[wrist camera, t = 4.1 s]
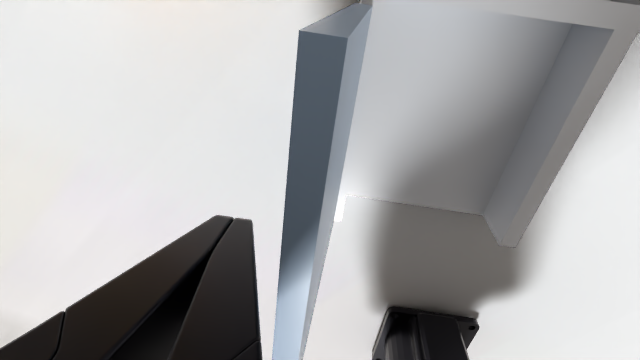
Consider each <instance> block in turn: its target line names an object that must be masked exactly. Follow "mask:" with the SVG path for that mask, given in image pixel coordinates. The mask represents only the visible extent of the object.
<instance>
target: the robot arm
mask: <svg viewBox="0 0 640 360" xmlns="http://www.w3.org/2000/svg"><path fill="white" fill-rule="evenodd" d="M478 330H479V325H478V322H477V320H475V319H472V318H465V317H459V316H452V315H445V314H439V313H432V312H426V311H419V310H413V309H406V308H399V307H391V308H389V309H388V310H387V313H386V316H385V319H384V322H383V325H382V327H381V330H380V333H379V336H378V339H377V342H376V345H375V347H374V350H373V353H372V360H469V357H468V353H467V348H468V346H469V345H470V343H471V341H472V340H473V338H474V336H475V335H476V333H477V331H478ZM0 360H262V347H261V336H260V321H259V307H258V293H257V278H256V264H255V250H254V235H253V222H252V221H251V220H249V219H242V218H235V219H234V218H233V217H229V216H222V215H216V216H214V217H212V218H211V219H209V220H207V221H206V222H204V223H203V224H201V225H199V226H198V227H196V228H194V229H193V230H191V231H190V232H188V233H186V234H185V235H183V236H182V237H180V238H178V239H177V240H175V241H174V242H172V243H170V244H169V245H167V246H166V247H164V248H162V249H161V250H159V251H158V252H156V253H154V254H153V255H151V256H150V257H148V258H146V259H145V260H143V261H141V262H140V263H138V264H137V265H135V266H133V267H132V268H130V269H129V270H127V271H125V272H124V273H122V274H121V275H119V276H117V277H116V278H114V279H113V280H111V281H109V282H108V283H106V284H105V285H103V286H101V287H100V288H98V289H97V290H95V291H93V292H92V293H90V294H88V295H87V296H85V297H84V298H82V299H80V300H79V301H77V302H76V303H74V304H72V305H71V306H69V307H68V308H67V309H66V311H65V312H64V311H61V312H59V313H58V314H56V315H54V316H53V317H51V318H50V319H48V320H46V321H45V322H43V323H42V324H40V325H38V326H37V327H35V328H33V329H32V330H30V331H28V332H27V333H25V334H23V335H22V336H20V337H18V338H17V339H15V340H13V341H12V342H10V343H8V344H7V345H5V346H3V347H2V348H0Z"/></svg>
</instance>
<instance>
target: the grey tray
mask: <svg viewBox="0 0 640 360" xmlns="http://www.w3.org/2000/svg"><path fill="white" fill-rule="evenodd" d="M359 3H360V4H367V5H373V8H372V13H371V19H370V24H369V30H368V35H367V41H366V46H365V52H364V57H363V63H362V68H361V74H360V79H359V85H358V90H357V96H356V101H355V107H354V112H353V118H352V123H351V129H350V134H349V140H348V145H347V151H346V156H345V162H344V167H343V173H342V178H341V184H340V189H339V195H338V200H337V206H336V211H335V217H334V221H339V222H341V221H342V216H343V211H344V206H345V201H346V195H348V196H354V197H361V198H368V199H375V200H381V201H388V202H395V203H401V204H408V205H415V206H422V207H428V208H435V209H442V210H448V211H455V212H462V213H469V214H475V215H482V216H483V217H484V219H485V221H486V223H487V224H488V226H489V228H490V230H491V232H492V233H493V235H494V237H495V239H496V240H497V242H498V244H499V246H506V247H513V248H515V247H516V246H517V244H518V242H519V240H520V239H521V237H522V235H523V233H524V232H525V230H526V228H527V226H528V224H529V223H530V221H531V219H532V217H533V216H534V214H535V212H536V210H537V209H538V207H539V205H540V203H541V202H542V200H543V198H544V196H545V195H546V193H547V191H548V189H549V188H550V186H551V184H552V182H553V181H554V179H555V177H556V175H557V174H558V172H559V170H560V168H561V167H562V165H563V163H564V161H565V160H566V158H567V156H568V154H569V153H570V151H571V149H572V147H573V146H574V144H575V142H576V140H577V139H578V137H579V135H580V133H581V131H582V130H583V128H584V126H585V124H586V123H587V121H588V119H589V117H590V116H591V114H592V112H593V110H594V109H595V107H596V105H597V103H598V102H599V100H600V98H601V96H602V95H603V93H604V91H605V89H606V88H607V86H608V84H609V82H610V81H611V79H612V77H613V75H614V74H615V72H616V70H617V68H618V67H619V65H620V63H621V61H622V60H623V58H624V56H625V54H626V53H627V51H628V49H629V47H630V45H631V44H632V42H633V40H634V38H635V37H636V35H637V33H640V0H360V1H359Z"/></svg>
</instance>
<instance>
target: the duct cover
mask: <svg viewBox="0 0 640 360" xmlns="http://www.w3.org/2000/svg"><path fill="white" fill-rule="evenodd" d="M372 8H373V5H367V4H360V3H354V4H352V5H350V6H348V7H346V8H344V9H342V10H340V11H338V12H336V13H334V14H332V15H330V16H328V17H326V18H323V19H321V20H319V21H317V22H315V23H313V24H311V25H309V26H307V27H305V28H303V29H301V30H299V38H298V50H297V62H296V74H295V87H294V99H293V111H292V123H291V135H290V147H289V160H288V172H287V184H286V196H285V208H284V220H283V233H282V245H281V257H280V269H279V281H278V293H277V306H276V318H275V330H274V342H273V354H272V360H303V355H304V351H305V347H306V342H307V338H308V333H309V329H310V324H311V320H312V315H313V311H314V306H315V302H316V298H317V293H318V289H319V284H320V280H321V275H322V271H323V266H324V262H325V258H326V253H327V249H328V244H329V240H330V235H331V231H332V226H333V222H334V217H335V211H336V206H337V200H338V195H339V189H340V184H341V178H342V173H343V167H344V162H345V156H346V151H347V145H348V140H349V134H350V129H351V123H352V118H353V112H354V107H355V101H356V96H357V90H358V85H359V79H360V74H361V68H362V63H363V57H364V52H365V46H366V41H367V35H368V30H369V24H370V19H371V13H372Z"/></svg>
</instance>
